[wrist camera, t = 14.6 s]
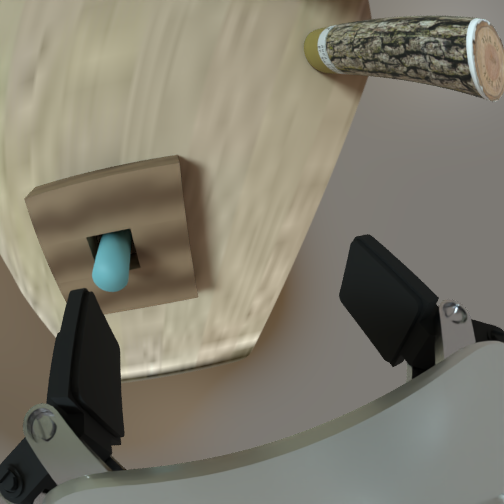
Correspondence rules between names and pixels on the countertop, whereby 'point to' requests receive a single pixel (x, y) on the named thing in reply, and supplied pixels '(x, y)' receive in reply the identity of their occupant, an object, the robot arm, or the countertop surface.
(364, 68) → the bark patterned cylinder
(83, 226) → the socket block
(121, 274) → the dowel peg
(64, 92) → the countertop surface
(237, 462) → the robot arm
